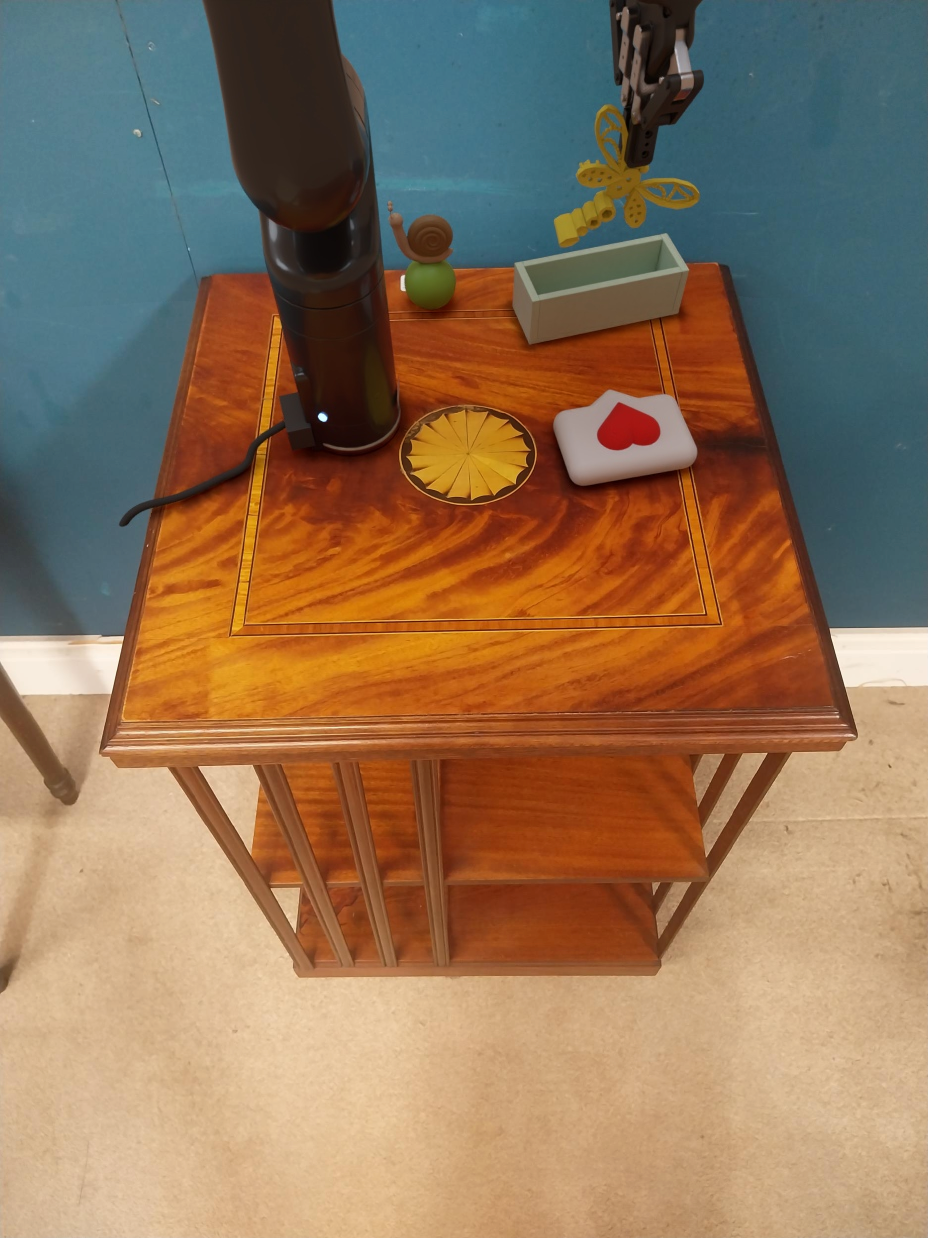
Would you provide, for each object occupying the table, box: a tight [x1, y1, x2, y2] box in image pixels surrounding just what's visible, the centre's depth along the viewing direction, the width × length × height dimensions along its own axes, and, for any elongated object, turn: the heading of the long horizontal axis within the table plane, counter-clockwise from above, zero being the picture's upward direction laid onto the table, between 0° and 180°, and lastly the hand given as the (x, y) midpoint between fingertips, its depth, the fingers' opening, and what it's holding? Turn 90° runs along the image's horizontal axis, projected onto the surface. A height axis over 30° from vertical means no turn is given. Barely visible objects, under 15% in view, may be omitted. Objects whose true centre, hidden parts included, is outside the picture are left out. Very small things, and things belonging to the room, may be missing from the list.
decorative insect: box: [553, 104, 701, 248], centre depth 71 cm, size 13×3×10 cm
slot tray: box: [512, 233, 690, 345], centre depth 88 cm, size 17×6×6 cm, turn 105°
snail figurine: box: [386, 200, 457, 311], centre depth 86 cm, size 5×6×12 cm
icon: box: [552, 389, 698, 487], centre depth 80 cm, size 12×4×10 cm
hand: (634, 158), depth 69 cm, fingers closed on decorative insect, 1 cm apart
